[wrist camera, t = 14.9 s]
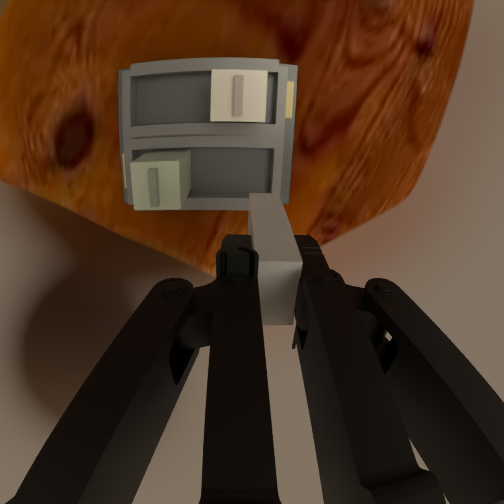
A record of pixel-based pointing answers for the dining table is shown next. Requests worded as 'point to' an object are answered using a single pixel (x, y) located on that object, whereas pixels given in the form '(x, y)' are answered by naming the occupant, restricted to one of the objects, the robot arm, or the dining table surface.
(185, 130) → the switch bank
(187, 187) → the sage tab
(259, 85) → the ivory tab
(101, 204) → the dining table surface
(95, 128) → the dining table surface
